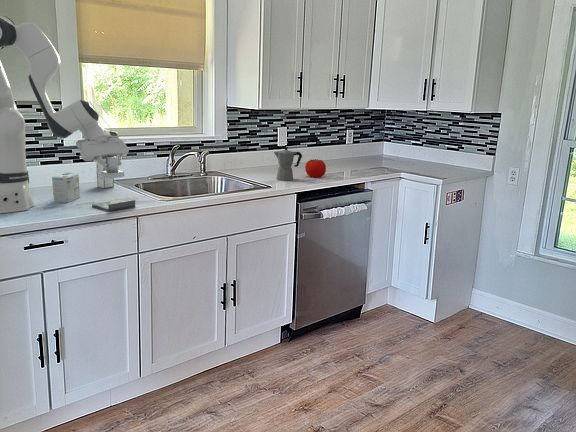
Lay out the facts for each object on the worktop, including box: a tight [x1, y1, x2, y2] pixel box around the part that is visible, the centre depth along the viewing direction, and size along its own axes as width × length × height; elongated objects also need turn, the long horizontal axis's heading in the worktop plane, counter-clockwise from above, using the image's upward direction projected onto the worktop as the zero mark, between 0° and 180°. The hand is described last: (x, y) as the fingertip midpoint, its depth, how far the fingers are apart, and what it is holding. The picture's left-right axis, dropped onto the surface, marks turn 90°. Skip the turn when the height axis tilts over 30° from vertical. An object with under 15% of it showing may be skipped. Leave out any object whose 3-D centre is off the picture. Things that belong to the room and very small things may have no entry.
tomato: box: [304, 158, 327, 178], centre depth 302 cm, size 12×12×10 cm
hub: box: [101, 155, 125, 179], centre depth 214 cm, size 6×6×8 cm
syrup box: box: [95, 159, 115, 189], centre depth 252 cm, size 6×6×14 cm
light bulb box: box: [51, 172, 81, 204], centre depth 226 cm, size 11×7×11 cm, turn 174°
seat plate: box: [92, 198, 136, 213], centre depth 218 cm, size 12×12×3 cm
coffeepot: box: [273, 146, 303, 182], centre depth 290 cm, size 15×9×18 cm, turn 86°
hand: (113, 165), depth 213 cm, fingers closed on hub, 5 cm apart
